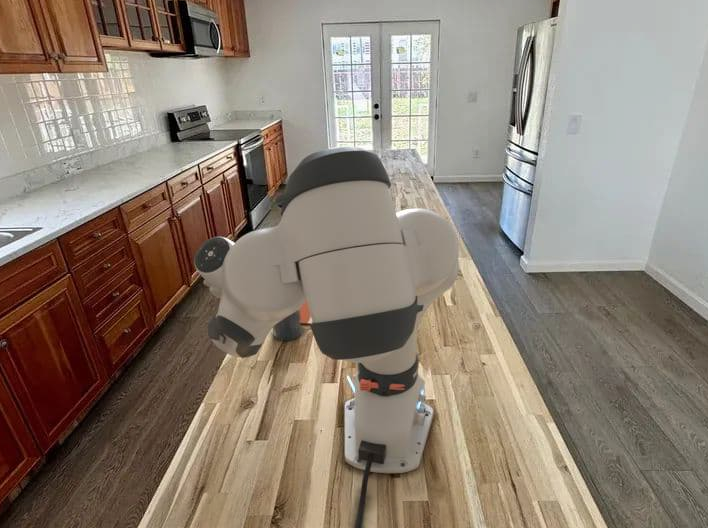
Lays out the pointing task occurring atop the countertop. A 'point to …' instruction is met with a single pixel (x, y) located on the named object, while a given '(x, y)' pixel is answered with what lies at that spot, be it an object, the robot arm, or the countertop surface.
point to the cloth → (305, 314)
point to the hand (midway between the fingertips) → (269, 299)
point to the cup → (288, 327)
